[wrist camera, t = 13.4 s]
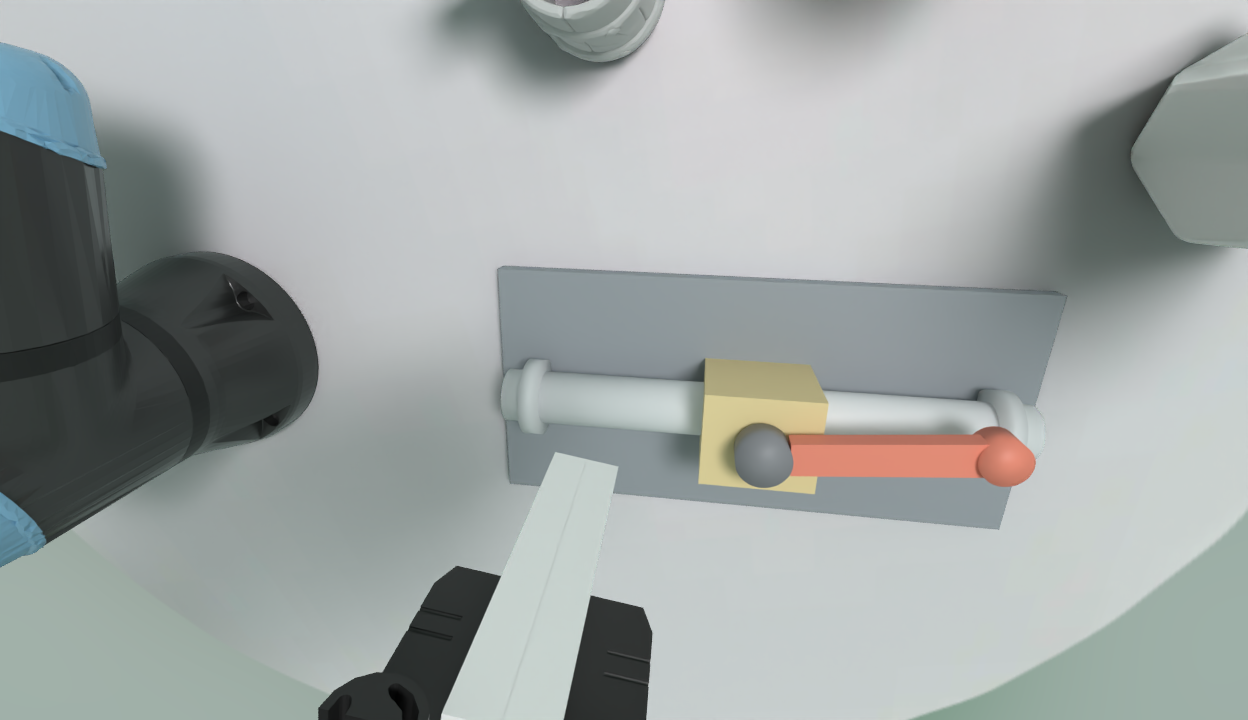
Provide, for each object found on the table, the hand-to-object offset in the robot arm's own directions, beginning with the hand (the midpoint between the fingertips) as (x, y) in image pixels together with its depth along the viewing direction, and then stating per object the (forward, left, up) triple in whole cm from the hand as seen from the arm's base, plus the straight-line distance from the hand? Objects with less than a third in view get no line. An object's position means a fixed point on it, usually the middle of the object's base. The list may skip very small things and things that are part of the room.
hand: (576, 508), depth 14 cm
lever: (+13, -8, -20) cm, 25 cm away
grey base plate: (+7, -8, -27) cm, 30 cm away
